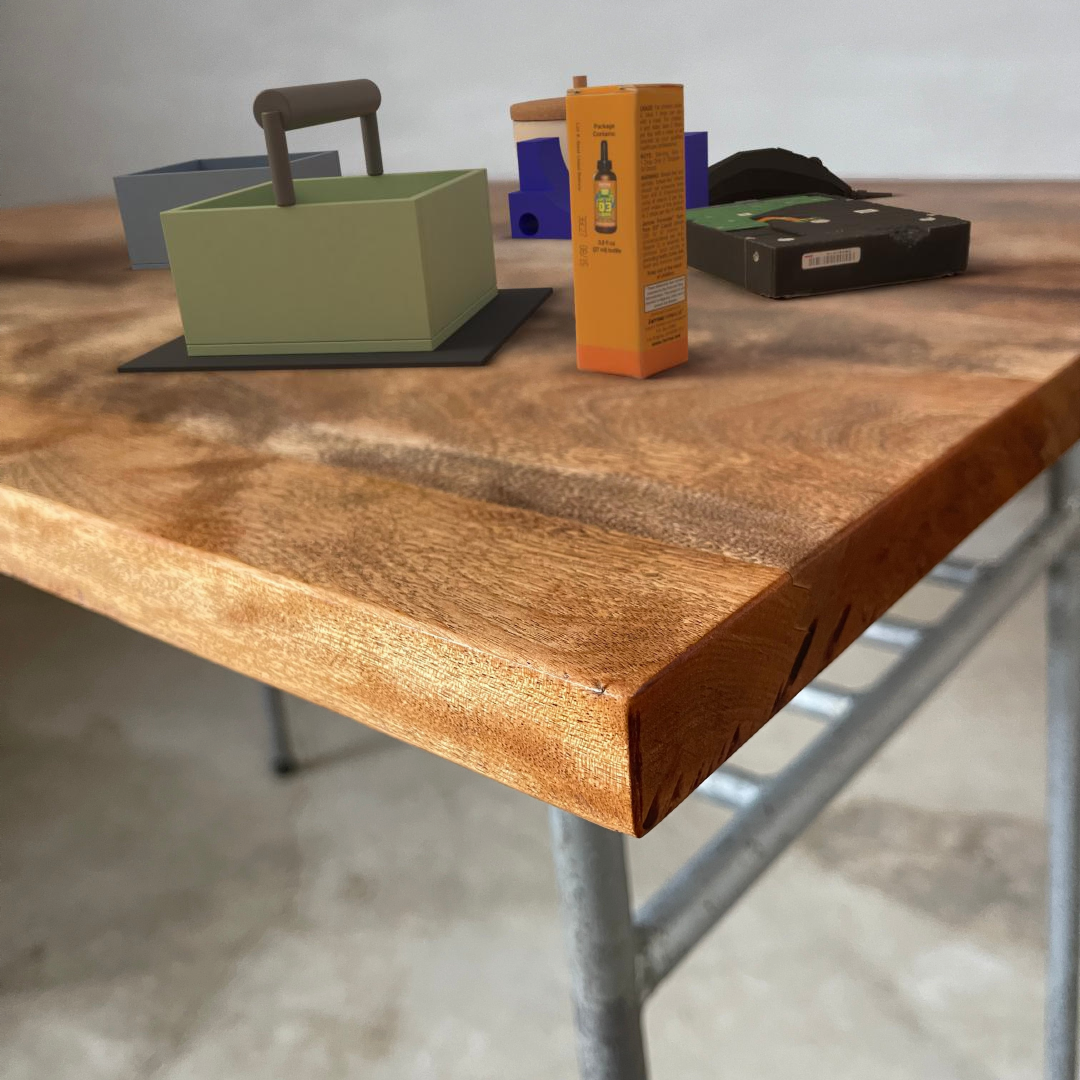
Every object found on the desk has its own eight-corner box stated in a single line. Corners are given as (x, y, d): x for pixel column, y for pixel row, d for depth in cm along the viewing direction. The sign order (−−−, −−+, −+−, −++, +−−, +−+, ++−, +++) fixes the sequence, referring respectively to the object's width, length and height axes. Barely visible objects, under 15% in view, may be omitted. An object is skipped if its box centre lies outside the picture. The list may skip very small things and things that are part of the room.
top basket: (186, 357, 48) (133, 99, 44) (293, 300, 58) (258, 86, 54) (431, 352, 45) (400, 79, 41) (498, 294, 55) (479, 69, 51)
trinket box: (498, 219, 83) (486, 84, 80) (543, 199, 93) (535, 77, 89) (637, 215, 80) (631, 74, 76) (670, 194, 89) (666, 67, 85)
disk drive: (972, 280, 53) (815, 237, 66) (978, 219, 51) (816, 187, 64) (773, 309, 50) (651, 258, 63) (774, 246, 49) (649, 207, 62)
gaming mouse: (903, 204, 75) (907, 141, 74) (683, 220, 76) (682, 158, 74) (880, 193, 81) (883, 135, 79) (675, 208, 82) (674, 150, 80)
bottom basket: (132, 272, 73) (112, 176, 71) (211, 243, 83) (195, 159, 80) (288, 266, 71) (272, 167, 68) (350, 237, 80) (338, 150, 78)
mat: (118, 376, 47) (116, 367, 47) (260, 304, 60) (259, 296, 59) (482, 370, 44) (481, 360, 43) (553, 295, 56) (552, 287, 56)
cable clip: (512, 240, 73) (504, 144, 71) (545, 229, 77) (539, 137, 74) (680, 243, 68) (678, 138, 65) (709, 231, 71) (707, 131, 69)
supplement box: (697, 362, 42) (692, 78, 38) (643, 384, 40) (631, 85, 36) (628, 352, 45) (616, 82, 41) (572, 373, 42) (554, 89, 38)
